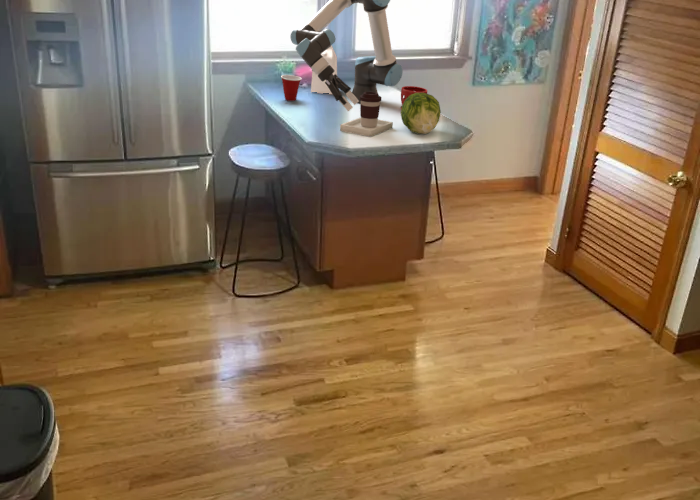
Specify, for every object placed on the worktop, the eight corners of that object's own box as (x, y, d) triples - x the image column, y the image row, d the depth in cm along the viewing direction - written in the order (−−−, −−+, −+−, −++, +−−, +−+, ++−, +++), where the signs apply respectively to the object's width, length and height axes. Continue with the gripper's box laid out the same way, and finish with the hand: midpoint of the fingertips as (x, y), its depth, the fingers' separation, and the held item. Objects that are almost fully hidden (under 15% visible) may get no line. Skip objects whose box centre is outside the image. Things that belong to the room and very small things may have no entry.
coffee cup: (382, 124, 336) (384, 92, 330) (376, 129, 328) (378, 96, 322) (361, 122, 339) (363, 89, 333) (355, 126, 330) (356, 93, 324)
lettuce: (403, 121, 315) (440, 98, 313) (388, 100, 334) (423, 77, 332) (421, 151, 326) (456, 129, 324) (405, 129, 345) (439, 108, 342)
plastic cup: (298, 102, 375) (298, 79, 370) (278, 100, 376) (278, 77, 372) (303, 98, 384) (304, 75, 380) (284, 96, 386) (284, 73, 381)
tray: (362, 122, 343) (362, 116, 342) (392, 128, 336) (392, 122, 335) (340, 130, 328) (340, 124, 326) (370, 136, 320) (371, 130, 319)
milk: (337, 90, 408) (339, 42, 397) (331, 94, 397) (333, 45, 387) (316, 88, 410) (317, 40, 399) (310, 92, 400) (312, 43, 389)
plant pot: (403, 115, 361) (405, 91, 356) (396, 109, 372) (398, 85, 368) (428, 115, 364) (431, 91, 359) (420, 109, 375) (422, 85, 370)
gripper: (324, 70, 340) (353, 105, 344) (309, 80, 318) (341, 117, 321) (335, 60, 337) (365, 95, 341) (322, 68, 315) (354, 106, 318)
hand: (353, 106), depth 331 cm, fingers open, 13 cm apart
